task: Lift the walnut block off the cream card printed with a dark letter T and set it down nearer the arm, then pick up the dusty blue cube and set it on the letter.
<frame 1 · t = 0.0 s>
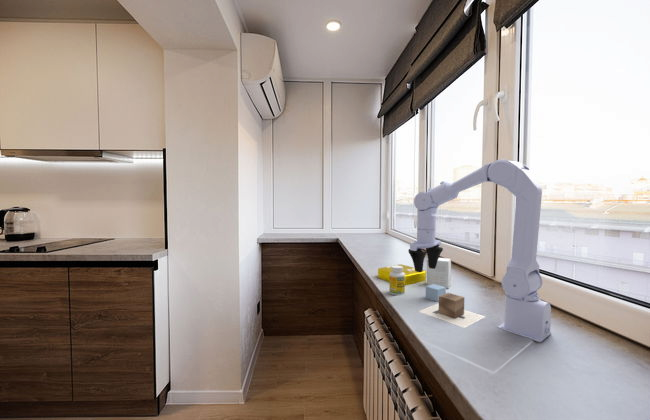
hand: (425, 269, 97), 10 cm above the countertop, tool pointing down, fingers open, 7 cm apart
dusty blue cube: (435, 300, 98), on the countertop
supplement bottle: (396, 293, 105), on the countertop
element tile: (401, 280, 123), on the countertop
walnut block: (451, 313, 85), resting on letter card
letter card: (451, 315, 85), on the countertop
small box: (438, 286, 114), on the countertop
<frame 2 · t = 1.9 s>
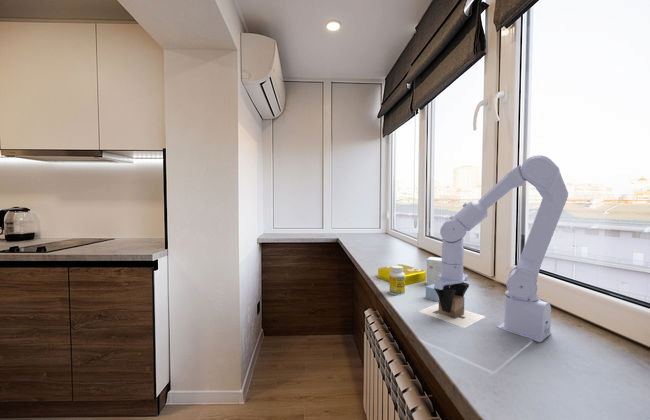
hand: (451, 309, 85), 2 cm above the countertop, tool pointing down, fingers closed on walnut block, 5 cm apart
walnut block: (451, 313, 85), resting on letter card, touching gripper
everything else where it was.
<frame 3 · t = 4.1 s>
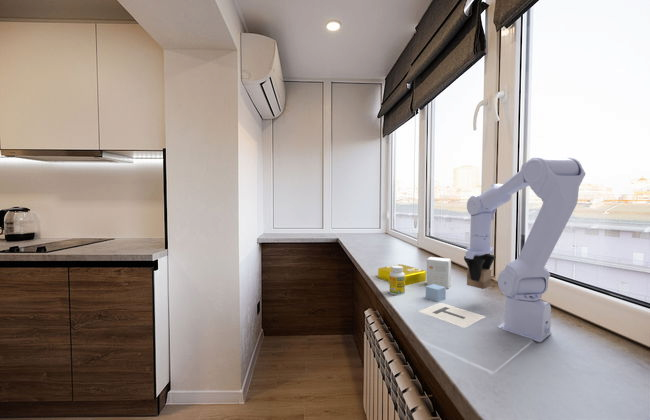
hand: (479, 278, 92), 9 cm above the countertop, tool pointing down, fingers closed on walnut block, 5 cm apart
walnut block: (478, 285, 92), point 7 cm above the countertop, touching gripper
everything else where it was.
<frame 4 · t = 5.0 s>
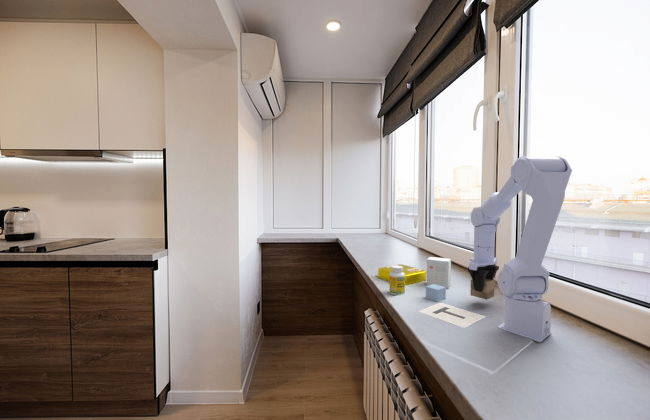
hand: (482, 289, 93), 5 cm above the countertop, tool pointing down, fingers closed on walnut block, 5 cm apart
walnut block: (482, 295, 93), point 3 cm above the countertop, touching gripper
everything else where it was.
when the fingers open (2 cm above the countertop, at t = 6.0 s): walnut block stays where it is, on the countertop.
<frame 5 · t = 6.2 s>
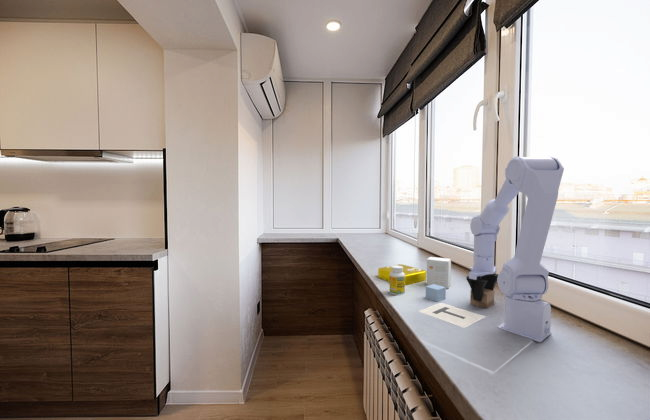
hand: (482, 298, 93), 2 cm above the countertop, tool pointing down, fingers open, 6 cm apart
walnut block: (482, 305, 93), on the countertop
everything else where it was.
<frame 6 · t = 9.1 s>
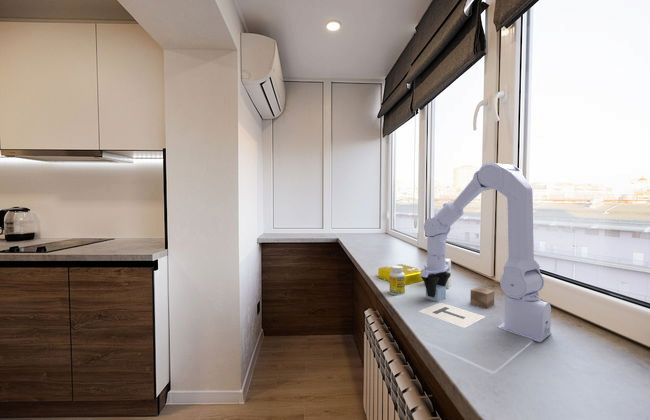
hand: (435, 294, 98), 2 cm above the countertop, tool pointing down, fingers closed on dusty blue cube, 4 cm apart
dusty blue cube: (435, 299, 98), on the countertop, touching gripper
everything else where it was.
when the fingers open (3 cm above the countertop, at t = 13.2 s): dusty blue cube drops 1 cm, resting on letter card.
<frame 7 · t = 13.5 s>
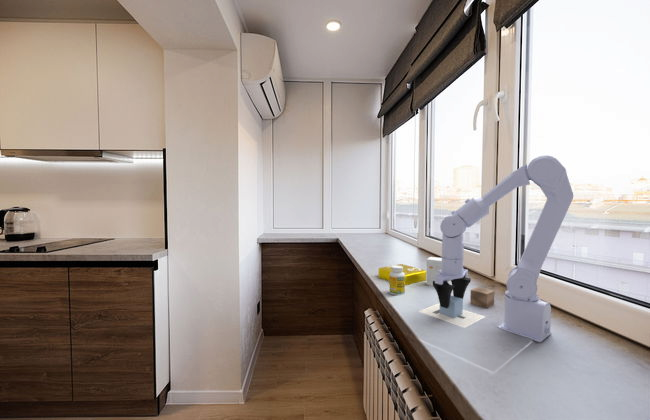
hand: (451, 304, 85), 3 cm above the countertop, tool pointing down, fingers open, 7 cm apart
dusty blue cube: (450, 313, 85), resting on letter card
everything else where it was.
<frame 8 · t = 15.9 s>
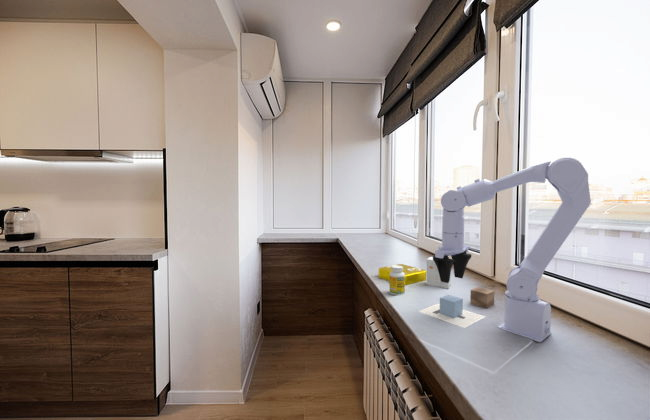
hand: (451, 279, 85), 10 cm above the countertop, tool pointing down, fingers open, 7 cm apart
nothing on the countertop moved.
at the end: dusty blue cube 0.1 cm off-centre on the letter card, point 0.4 cm above the letter card's base; dusty blue cube tilted 0°; walnut block touching countertop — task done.
